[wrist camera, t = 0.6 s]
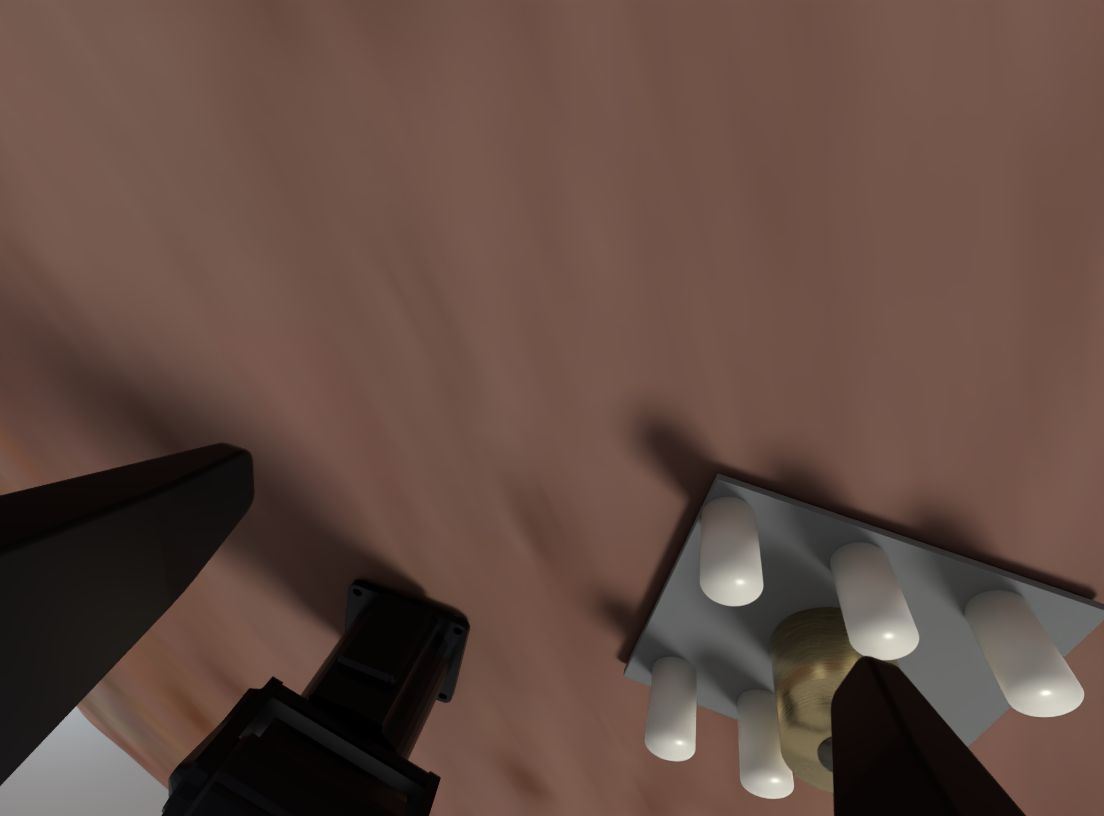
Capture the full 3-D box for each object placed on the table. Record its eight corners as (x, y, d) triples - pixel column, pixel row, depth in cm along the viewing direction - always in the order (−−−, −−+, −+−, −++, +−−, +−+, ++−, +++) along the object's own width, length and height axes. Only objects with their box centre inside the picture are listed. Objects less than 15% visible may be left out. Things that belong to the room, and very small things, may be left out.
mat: (918, 780, 26) (921, 789, 26) (624, 669, 28) (623, 676, 27) (1104, 604, 20) (1111, 612, 20) (717, 473, 22) (717, 479, 21)
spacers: (882, 767, 26) (904, 853, 23) (626, 669, 27) (615, 740, 24) (1042, 602, 20) (1100, 687, 17) (712, 489, 22) (712, 550, 19)
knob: (857, 703, 24) (885, 817, 20) (751, 663, 25) (759, 768, 21) (916, 633, 22) (960, 746, 18) (798, 591, 23) (817, 693, 19)
